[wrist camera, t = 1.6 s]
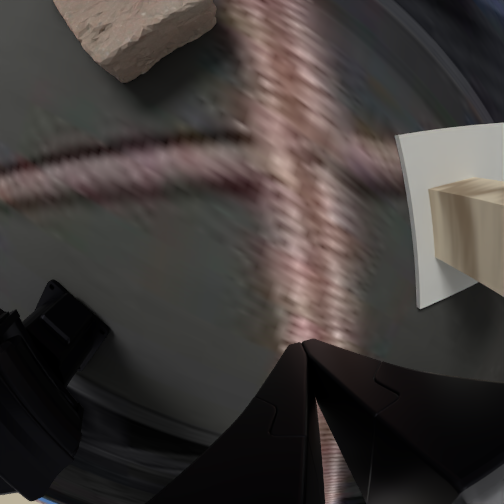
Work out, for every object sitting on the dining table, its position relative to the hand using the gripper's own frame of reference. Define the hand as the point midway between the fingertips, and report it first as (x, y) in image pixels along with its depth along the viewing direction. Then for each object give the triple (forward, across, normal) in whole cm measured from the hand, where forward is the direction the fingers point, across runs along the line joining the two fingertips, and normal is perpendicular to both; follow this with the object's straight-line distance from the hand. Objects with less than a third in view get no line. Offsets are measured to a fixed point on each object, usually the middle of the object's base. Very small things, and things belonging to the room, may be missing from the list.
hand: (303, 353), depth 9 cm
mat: (+12, +21, -1) cm, 24 cm away
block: (+11, +16, -1) cm, 19 cm away
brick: (+12, -6, +23) cm, 27 cm away
